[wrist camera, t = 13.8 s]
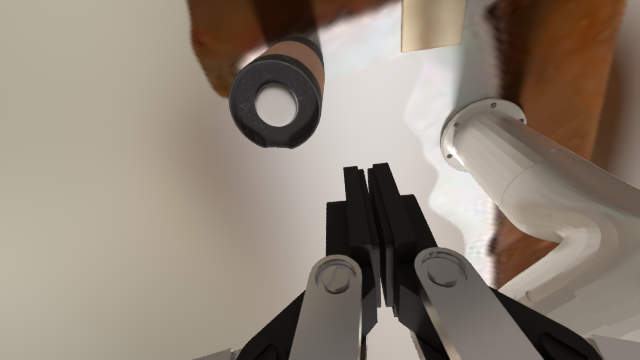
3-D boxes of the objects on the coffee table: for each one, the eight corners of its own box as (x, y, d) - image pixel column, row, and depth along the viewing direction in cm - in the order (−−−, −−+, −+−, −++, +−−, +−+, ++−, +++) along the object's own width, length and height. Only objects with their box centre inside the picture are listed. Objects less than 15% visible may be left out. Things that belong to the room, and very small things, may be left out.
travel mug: (298, 20, 35) (269, 31, 18) (336, 65, 38) (342, 112, 21) (261, 63, 38) (207, 106, 21) (299, 102, 41) (278, 167, 24)
